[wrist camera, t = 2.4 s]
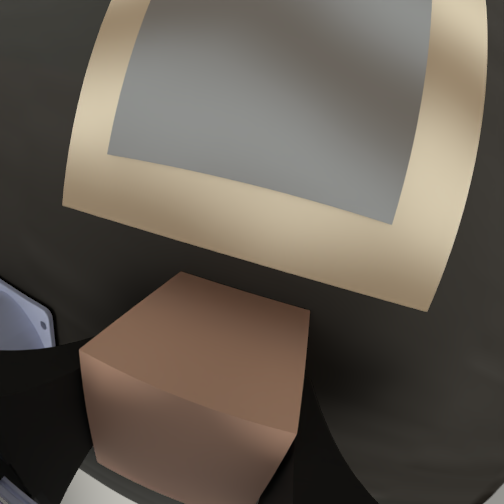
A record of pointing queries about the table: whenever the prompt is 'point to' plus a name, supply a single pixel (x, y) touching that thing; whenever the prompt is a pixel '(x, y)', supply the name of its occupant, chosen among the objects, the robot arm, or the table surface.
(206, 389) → the terracotta block
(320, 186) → the birch base
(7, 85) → the table surface
